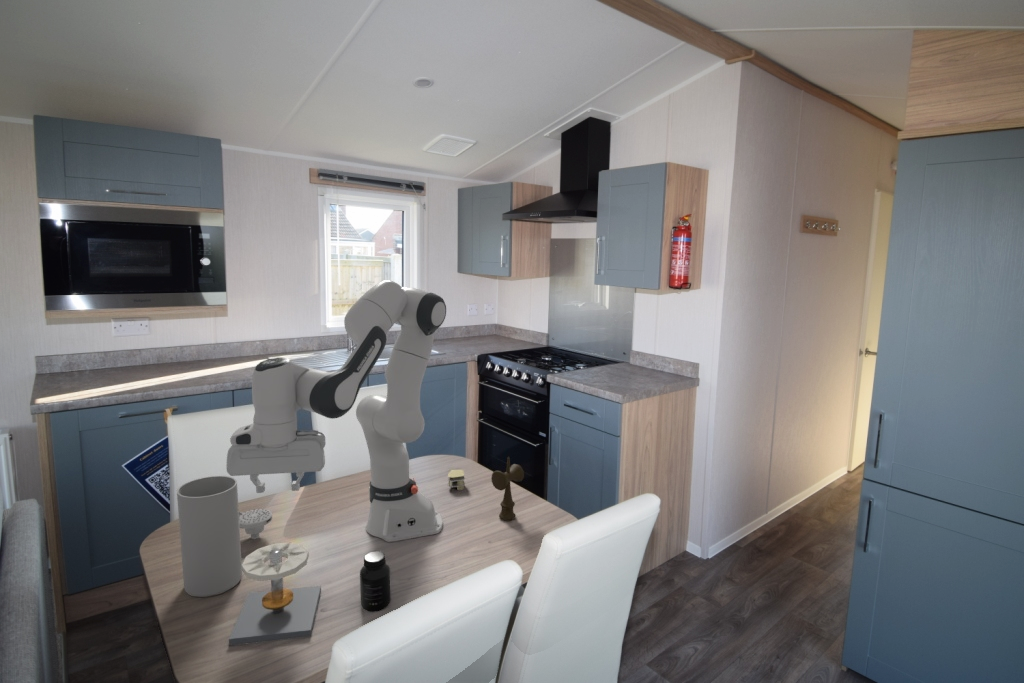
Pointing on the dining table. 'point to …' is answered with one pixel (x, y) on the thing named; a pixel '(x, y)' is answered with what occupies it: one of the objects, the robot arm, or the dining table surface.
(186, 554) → the cylinder vase
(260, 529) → the showerhead
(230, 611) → the dining table surface
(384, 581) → the supplement bottle
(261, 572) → the silicone ring
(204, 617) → the dining table surface
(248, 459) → the robot arm
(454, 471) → the beige blocky piece
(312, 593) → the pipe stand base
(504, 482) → the kendama
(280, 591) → the silver and orange rod
